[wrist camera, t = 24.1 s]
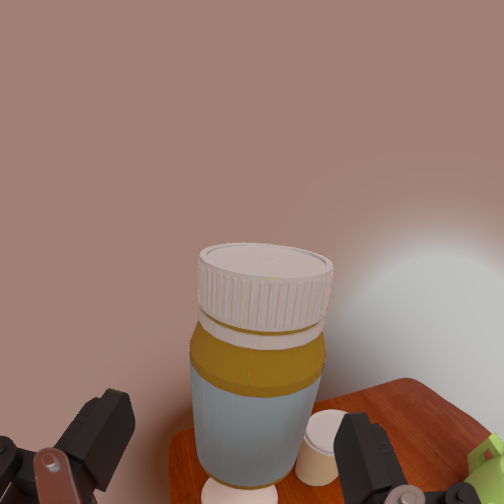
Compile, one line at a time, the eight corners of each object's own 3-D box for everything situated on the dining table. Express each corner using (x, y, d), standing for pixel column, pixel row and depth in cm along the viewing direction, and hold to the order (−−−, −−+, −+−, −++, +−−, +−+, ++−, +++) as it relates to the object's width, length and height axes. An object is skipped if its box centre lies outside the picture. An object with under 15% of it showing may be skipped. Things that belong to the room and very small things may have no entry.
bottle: (311, 451, 17) (362, 260, 13) (253, 510, 11) (292, 298, 8) (241, 412, 21) (254, 237, 18) (177, 454, 16) (158, 251, 12)
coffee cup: (345, 488, 30) (370, 450, 28) (289, 489, 31) (303, 451, 29) (340, 450, 40) (359, 407, 37) (290, 449, 40) (302, 407, 38)
